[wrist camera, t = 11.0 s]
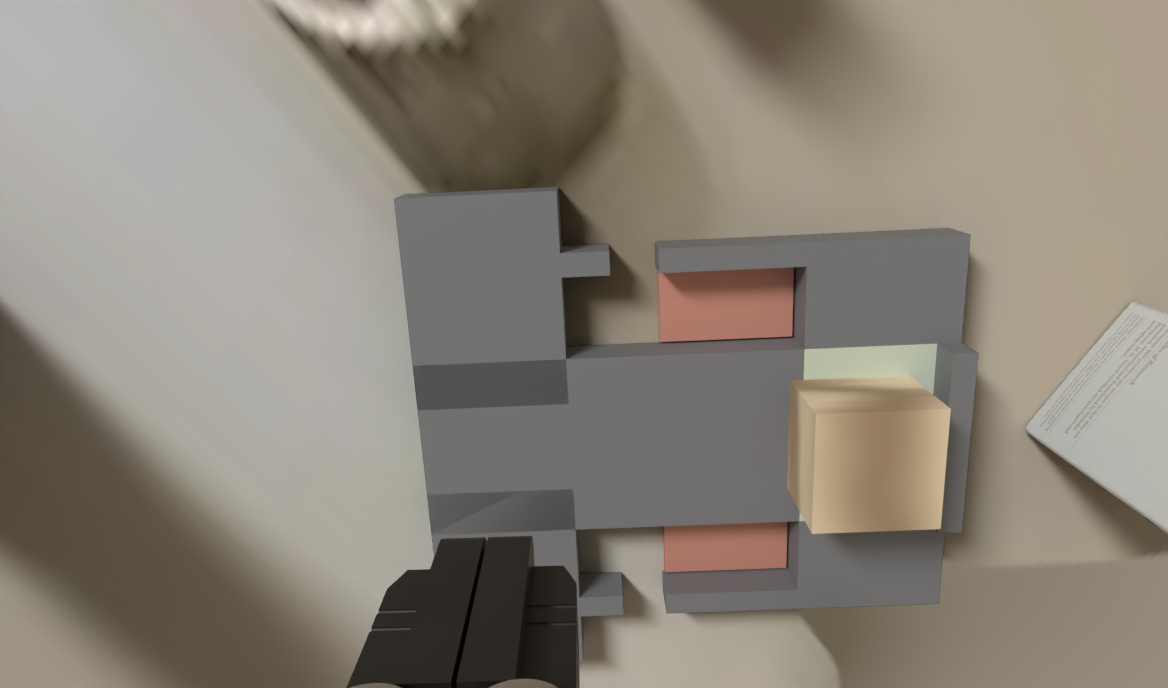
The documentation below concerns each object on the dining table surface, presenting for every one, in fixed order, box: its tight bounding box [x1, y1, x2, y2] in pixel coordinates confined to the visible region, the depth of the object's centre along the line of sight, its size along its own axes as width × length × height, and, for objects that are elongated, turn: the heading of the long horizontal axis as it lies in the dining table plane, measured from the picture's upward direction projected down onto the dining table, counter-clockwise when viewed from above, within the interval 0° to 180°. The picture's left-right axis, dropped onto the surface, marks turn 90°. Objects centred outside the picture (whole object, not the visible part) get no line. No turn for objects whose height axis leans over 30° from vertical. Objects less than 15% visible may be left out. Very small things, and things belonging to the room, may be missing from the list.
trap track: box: [394, 187, 978, 662], centre depth 34 cm, size 23×22×4 cm
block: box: [787, 375, 951, 534], centre depth 32 cm, size 5×5×4 cm
